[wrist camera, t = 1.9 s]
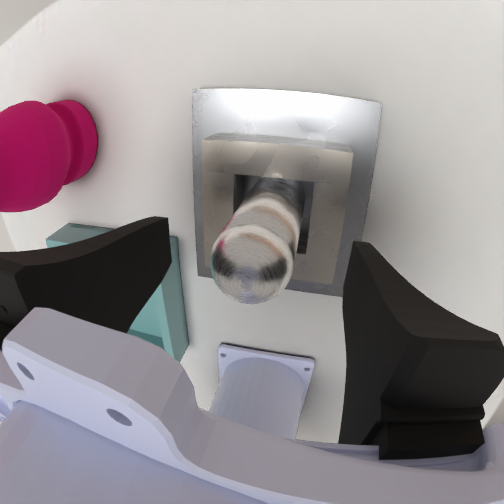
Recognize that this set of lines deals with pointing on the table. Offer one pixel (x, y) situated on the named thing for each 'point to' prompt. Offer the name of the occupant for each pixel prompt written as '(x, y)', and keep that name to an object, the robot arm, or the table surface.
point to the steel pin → (260, 242)
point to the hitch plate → (294, 123)
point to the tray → (158, 306)
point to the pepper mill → (43, 151)
